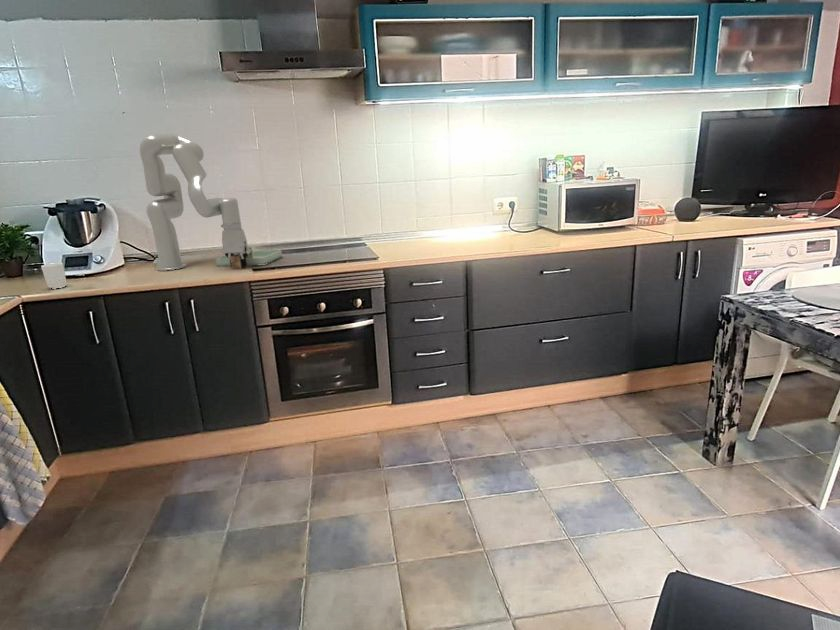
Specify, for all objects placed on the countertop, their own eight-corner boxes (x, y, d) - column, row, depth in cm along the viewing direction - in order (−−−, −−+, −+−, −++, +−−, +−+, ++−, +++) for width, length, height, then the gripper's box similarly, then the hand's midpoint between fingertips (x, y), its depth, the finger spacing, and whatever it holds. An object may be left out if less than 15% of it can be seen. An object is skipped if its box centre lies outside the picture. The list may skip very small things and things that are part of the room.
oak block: (232, 269, 255) (229, 256, 253) (237, 267, 259) (235, 254, 258) (241, 269, 254) (238, 256, 252) (246, 267, 258) (244, 254, 256)
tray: (217, 266, 264) (215, 258, 263) (237, 258, 281) (236, 251, 280) (264, 265, 258) (262, 258, 257) (282, 257, 275) (281, 250, 274)
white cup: (42, 289, 239) (36, 266, 236) (59, 285, 246) (54, 262, 243) (55, 290, 237) (49, 266, 234) (72, 285, 244) (67, 262, 241)
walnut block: (239, 262, 265) (237, 249, 263) (244, 260, 269) (242, 247, 267) (248, 262, 264) (246, 249, 262) (253, 260, 268) (251, 247, 266)
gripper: (210, 228, 250) (217, 269, 255) (245, 227, 246) (251, 269, 251) (220, 226, 257) (226, 265, 262) (254, 225, 253) (260, 265, 258)
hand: (238, 267), depth 256 cm, fingers closed on oak block, 4 cm apart
